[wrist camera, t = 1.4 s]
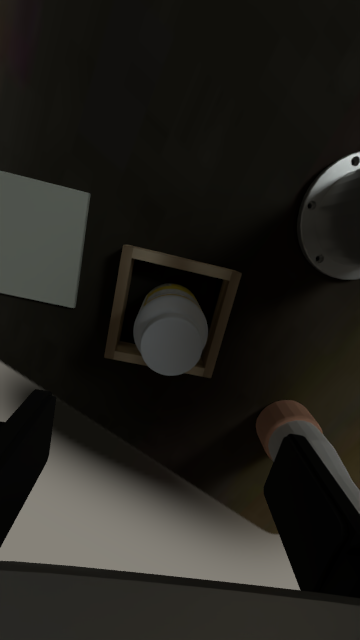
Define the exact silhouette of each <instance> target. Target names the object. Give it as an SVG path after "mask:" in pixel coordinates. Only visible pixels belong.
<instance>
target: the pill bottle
mask: <svg viewBox="0 0 360 640" xmlns="http://www.w3.org/2000/svg"><path fill="white" fill-rule="evenodd" d="M133 336H134V341H135V344H136V346H137V348H138V350H139V352H140V353H141V355H142V358H143V360H144V362H145V363H146V364H147V366H148V367H149V368H150V369H152V370H153V371H155V372H157V373H159V374H162V375H167V376H175V375H180V374H183V373H185V372H187V371H189V370H190V369H192V368H193V367H194V366H195V365H196V364H197V362H198V361H199V359H200V357H201V354H202V350H203V349H204V347H205V344H206V342H207V338H208V325H207V321H206V318H205V316H204V314H203V312H202V310H201V307H200V306H199V304H198V302H197V300H196V298H195V296H194V295H193V294H192V292H191V291H190V290H188V289H187V288H186V287H184V286H182V285H179V284H175V283H166V284H161V285H159V286H157V287H155V288H153V289H152V290H151V291H150V292H149V293H148V294H147V295H146V297H145V299H144V301H143V303H142V306H141V308H140V310H139V313H138V315H137V317H136V320H135V323H134V328H133Z"/></svg>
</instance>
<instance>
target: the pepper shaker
mask: <svg viewBox="0 0 360 640" xmlns="http://www.w3.org/2000/svg"><path fill="white" fill-rule="evenodd" d="M256 431H257V434H258V437H259V439H260V441H261V443H262V445H263V448H264V450H265V452H266V453H267V455H268V457H269V458H270V459H272V460H273V462H274V460H275V458H276V455H277V453H278V450H279V448H280V445H281V443H282V440H283V438H284V437H286V436H287V435H288V434H296V435H302V436H304V437H305V438H306V439H307V440H308V442H309V443H310V444H311V446H312V447H313V449H314V450H315V452H316V453H317V454H318V456H319V457H320V459H321V460H322V461H323V463H324V464H325V466H326V467H327V469H328V470H329V471H330V473H331V474H332V476H333V477H334V478H335V480H336V481H337V483H338V484H339V486H340V487H341V488H342V490H343V491H344V493H345V494H346V495H347V497H348V498H349V500H350V501H351V503H352V504H353V505H354V507H355V508H356V510H357V511H358V512H359V514H360V490H359V489H358V488H357V486H356V485H355V484H354V482H353V481H352V479H351V477H350V476H349V474H348V472H347V470H346V468H345V467H344V465H343V463H342V461H341V459H340V457H339V456H338V454H337V452H336V450H335V448H334V447H333V446H332V445H331V444H330V442H329V441H328V440H327V439H326V438H325V436H324V435H323V433H322V429H321V427H320V426H319V424H318V423H317V421H316V420H315V419H314V418H313V416H312V415H311V414H310V413H309V412H308V410H307V409H306V408H305V407H304V406H303V405H301V404H300V403H298V402H295V401H293V400H281V401H277V402H274V403H272V404H270V405H268V406H267V407H266V408H265V409H264V410H262V411H261V413H260V414H259V416H258V418H257V422H256Z"/></svg>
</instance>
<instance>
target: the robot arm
mask: <svg viewBox="0 0 360 640" xmlns="http://www.w3.org/2000/svg"><path fill="white" fill-rule="evenodd" d="M351 162H352V164H351ZM308 204H309V206H310V207H309V209H308ZM297 235H298V241H299V245H300V248H301V250H302V253H303V255H304V256H305V258H306V259H307V261H308V262H309V263H310V264H311V265H312V266H313V267H314V268H315V269H316V270H318V271H319V272H321V273H323V274H324V275H327V276H330V277H333V278H338V279H342V280H356V279H360V151H359V152H355V153H352V154H349V155H347V156H345V157H343V158H340V159H339V160H337V161H335V162H334V163H332V164H330V165H329V166H328V167H326V168H325V169H324V170H323V171H322V172H321V173H320V174H319V175H318V176H317V177H316V178H315V180H314V181H313V182H312V183H311V185H310V186H309V188H308V190H307V191H306V193H305V195H304V197H303V200H302V202H301V205H300V208H299V213H298V218H297ZM316 257H317V260H316ZM55 402H56V397H54V396H52V393H51V392H49V391H43V390H36V389H35V390H34V391H33V392H32V393H31V394H30V395H29V396H28V398H27V399H26V400H25V401H24V402H23V403H22V404H21V406H20V407H19V408H18V409H17V410H16V411H15V412H14V413H13V415H12V416H11V417H10V418H9V419H8V420H7V421H6V422H0V547H1V545H2V543H3V541H4V540H5V538H6V536H7V534H8V532H9V530H10V529H11V527H12V525H13V523H14V521H15V519H16V518H17V516H18V514H19V512H20V510H21V508H22V507H23V505H24V503H25V501H26V499H27V497H28V495H29V494H30V492H31V490H32V488H33V486H34V484H35V483H36V481H37V479H38V477H39V475H40V473H41V472H42V470H43V468H44V466H45V464H46V462H47V459H48V456H49V450H50V442H51V434H52V426H53V418H54V410H55ZM264 496H265V498H266V501H267V504H268V506H269V509H270V512H271V514H272V517H273V519H274V522H275V525H276V527H277V530H278V532H279V535H280V537H281V540H282V543H283V546H284V548H285V551H286V553H287V556H288V559H289V561H290V564H291V566H292V569H293V572H294V574H295V577H296V579H297V582H298V585H299V587H300V590H301V591H300V590H291V589H283V588H274V587H265V586H256V585H248V584H239V583H229V582H220V581H211V580H201V579H192V578H182V577H174V576H165V575H154V574H144V573H136V572H126V571H115V570H106V569H95V568H86V567H76V566H64V565H52V564H40V563H26V562H15V561H0V640H360V514H359V512H358V511H357V510H356V508H355V507H354V505H353V504H352V503H351V501H350V500H349V498H348V497H347V495H346V494H345V493H344V491H343V490H342V488H341V487H340V486H339V484H338V483H337V481H336V480H335V478H334V477H333V476H332V474H331V473H330V471H329V470H328V469H327V467H326V466H325V464H324V463H323V461H322V460H321V459H320V457H319V456H318V454H317V453H316V452H315V450H314V449H313V447H312V446H311V444H310V443H309V442H308V440H307V439H306V438H305V437H304V436H302V435H296V434H288V435H287V436H286V437H284V438H283V440H282V443H281V445H280V448H279V450H278V453H277V455H276V458H275V460H274V463H273V465H272V468H271V470H270V473H269V475H268V478H267V480H266V483H265V485H264Z"/></svg>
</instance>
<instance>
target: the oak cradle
mask: <svg viewBox="0 0 360 640" xmlns="http://www.w3.org/2000/svg"><path fill="white" fill-rule="evenodd" d="M135 259H138V260H142V261H147V262H151V263H155V264H160V265H164V266H168V267H172V268H177V269H181V270H185V271H190V272H194V273H198V274H203V275H207V276H211V277H215V278H220V279H223V282H222V286H221V289H220V293H219V296H218V300H217V304H216V307H215V311H214V314H213V318H212V322H211V325H210V329H209V332H208V338H207V342H206V344H205V347H204V351H203V354H202V357H200V359H199V361H198V362H197V364H196V365H195V366H194V367H193V368H192V369H190V370H189V371H187V372H185V373H186V374H191V375H197V376H202V377H207V378H211V377H212V373H213V370H214V367H215V363H216V360H217V356H218V353H219V350H220V346H221V343H222V339H223V336H224V332H225V329H226V326H227V322H228V319H229V315H230V312H231V309H232V305H233V302H234V298H235V295H236V292H237V288H238V285H239V281H240V278H241V275H242V273H240V272H238V271H236V270H232V269H228V268H224V267H220V266H216V265H211V264H207V263H203V262H199V261H194V260H190V259H186V258H182V257H178V256H173V255H169V254H165V253H161V252H157V251H152V250H148V249H144V248H140V247H135V246H131V245H123V249H122V255H121V261H120V266H119V272H118V278H117V284H116V290H115V296H114V302H113V308H112V314H111V320H110V325H109V331H108V337H107V343H106V349H105V355H104V358H109V359H114V360H119V361H124V362H129V363H135V364H140V365H145V366H147V364H146V363H145V362H144V360H143V358H142V355H141V353H140V352H139V350H138V348H137V346H136V344H132V343H127V342H122V341H120V337H121V331H122V326H123V320H124V315H125V309H126V304H127V298H128V293H129V288H130V282H131V277H132V271H133V266H134V260H135Z"/></svg>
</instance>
